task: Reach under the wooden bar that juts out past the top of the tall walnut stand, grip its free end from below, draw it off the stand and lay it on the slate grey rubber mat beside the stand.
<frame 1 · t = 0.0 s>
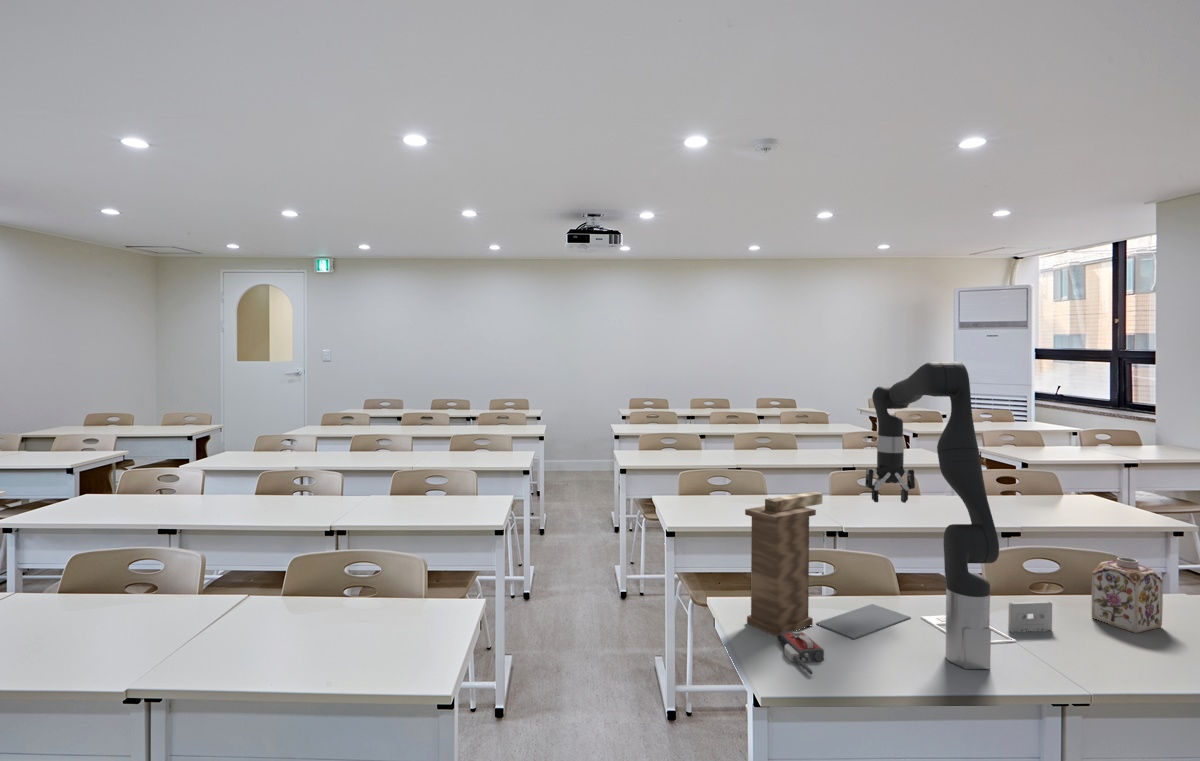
hand: (889, 502, 201), 29 cm above the table, tool pointing down, fingers open, 8 cm apart
decorative jar: (1125, 623, 180), on the table
photo frame: (966, 632, 175), on the table
cassette: (1030, 631, 175), on the table
mat: (863, 621, 181), on the table
wooden bar: (794, 506, 181), point 32 cm above the table, touching stand
stand: (779, 624, 179), on the table
walkie-talkie: (803, 659, 159), on the table
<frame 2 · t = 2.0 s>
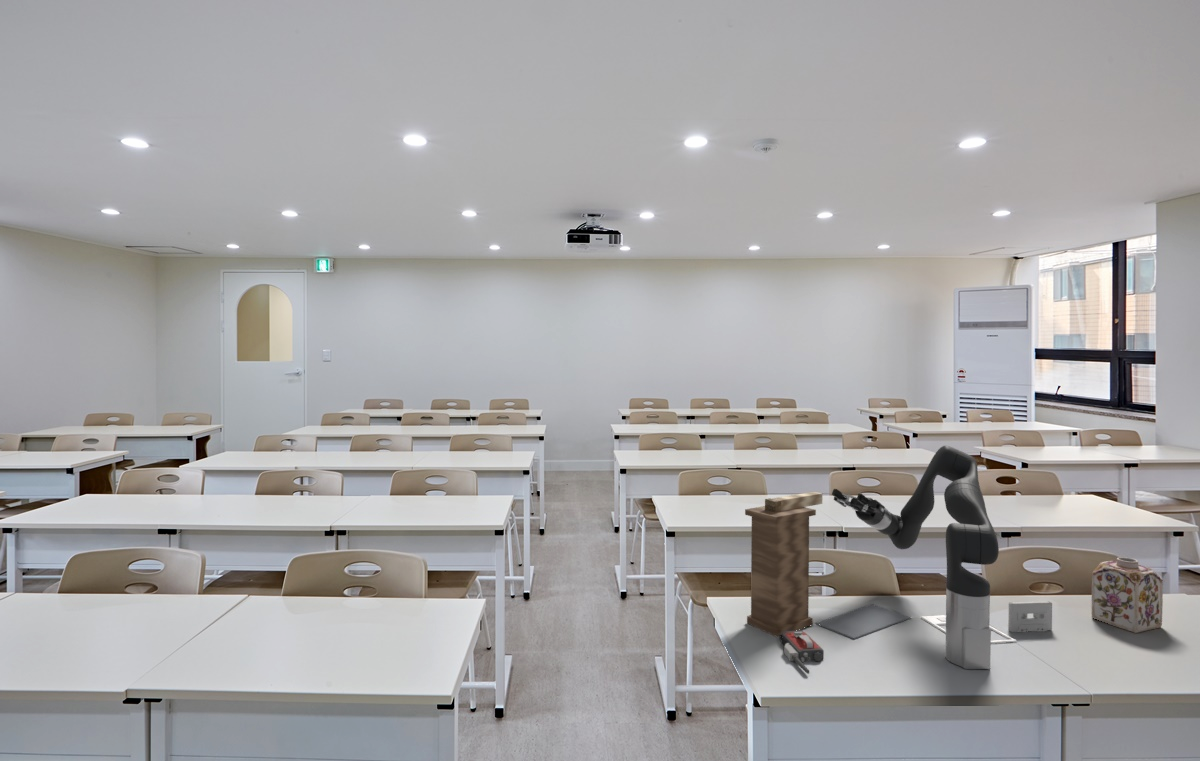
hand: (846, 493, 194), 33 cm above the table, tool pointing upward, fingers open, 8 cm apart
nothing on the table moved.
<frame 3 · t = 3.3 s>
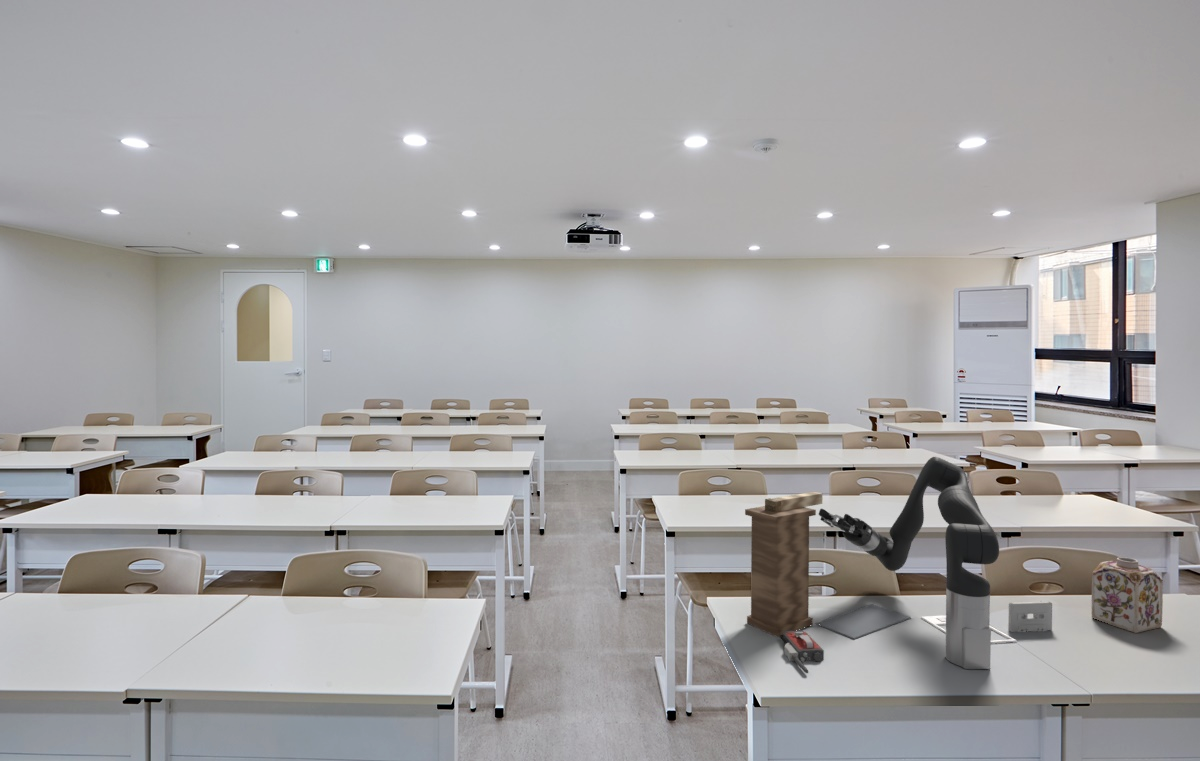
hand: (832, 514, 191), 28 cm above the table, tool pointing upward, fingers open, 8 cm apart
nothing on the table moved.
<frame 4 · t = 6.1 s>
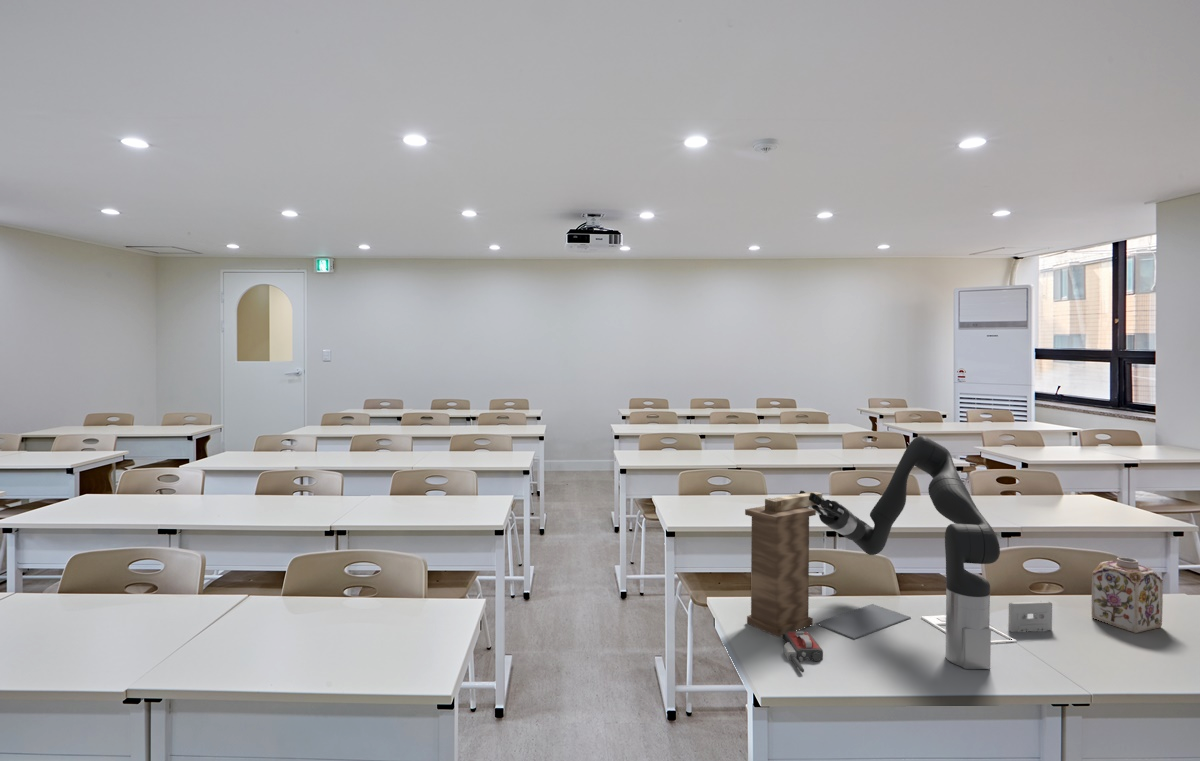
hand: (805, 494, 184), 35 cm above the table, tool pointing upward, fingers closed on wooden bar, 3 cm apart
wooden bar: (794, 506, 181), point 32 cm above the table, touching gripper, stand
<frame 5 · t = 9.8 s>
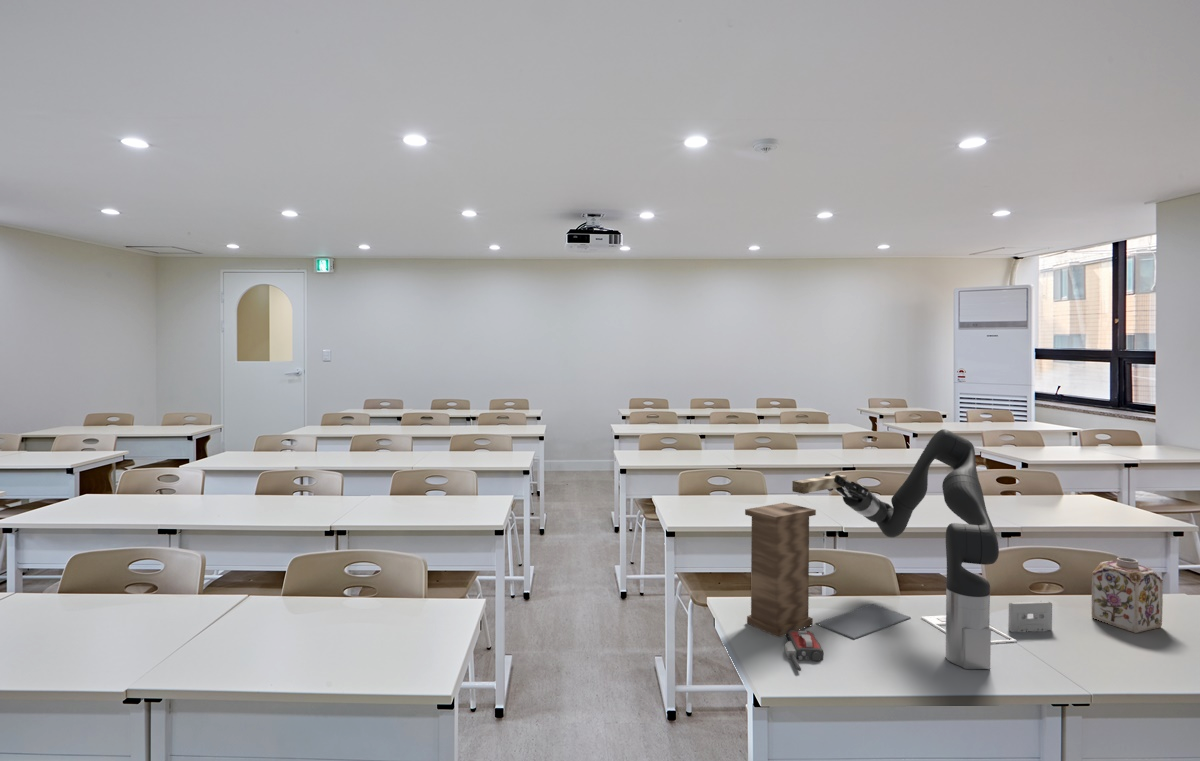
hand: (830, 477, 190), 39 cm above the table, tool pointing upward, fingers closed on wooden bar, 3 cm apart
wooden bar: (820, 488, 188), point 36 cm above the table, touching gripper
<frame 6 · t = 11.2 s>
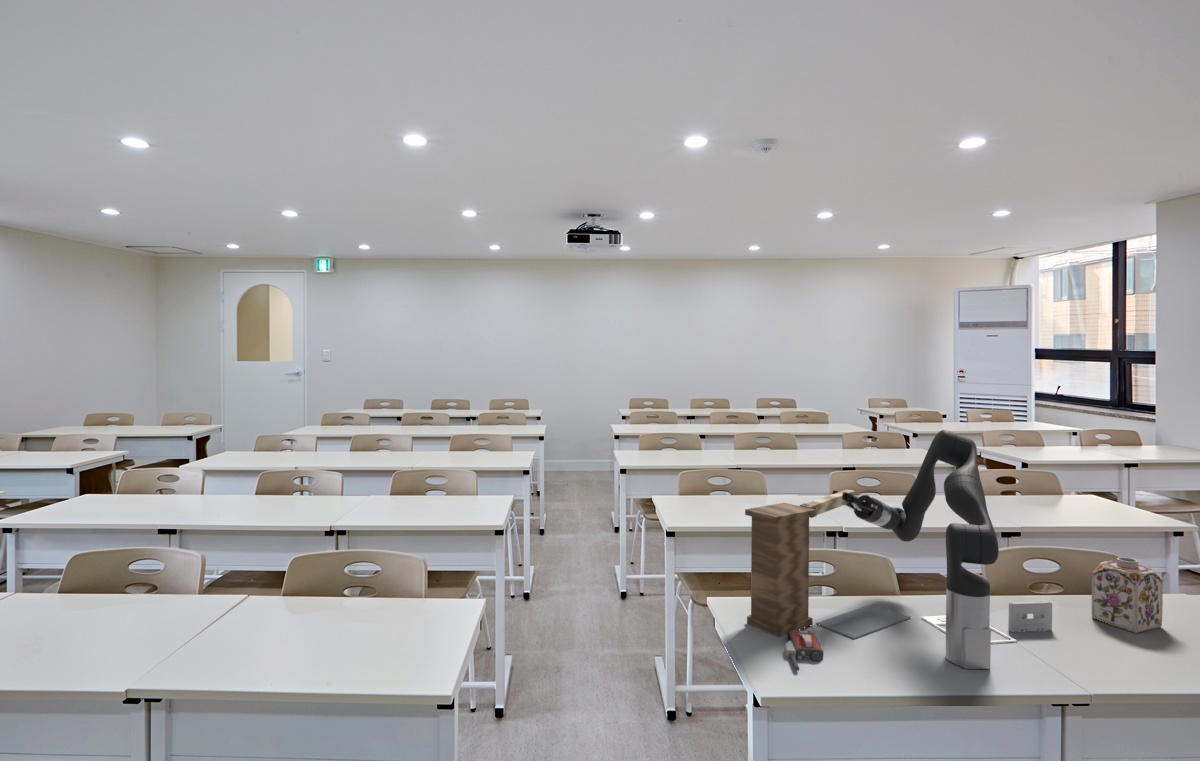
hand: (838, 494, 190), 34 cm above the table, tool pointing upward, fingers closed on wooden bar, 3 cm apart
wooden bar: (829, 508, 188), point 30 cm above the table, tilted 7°, touching gripper
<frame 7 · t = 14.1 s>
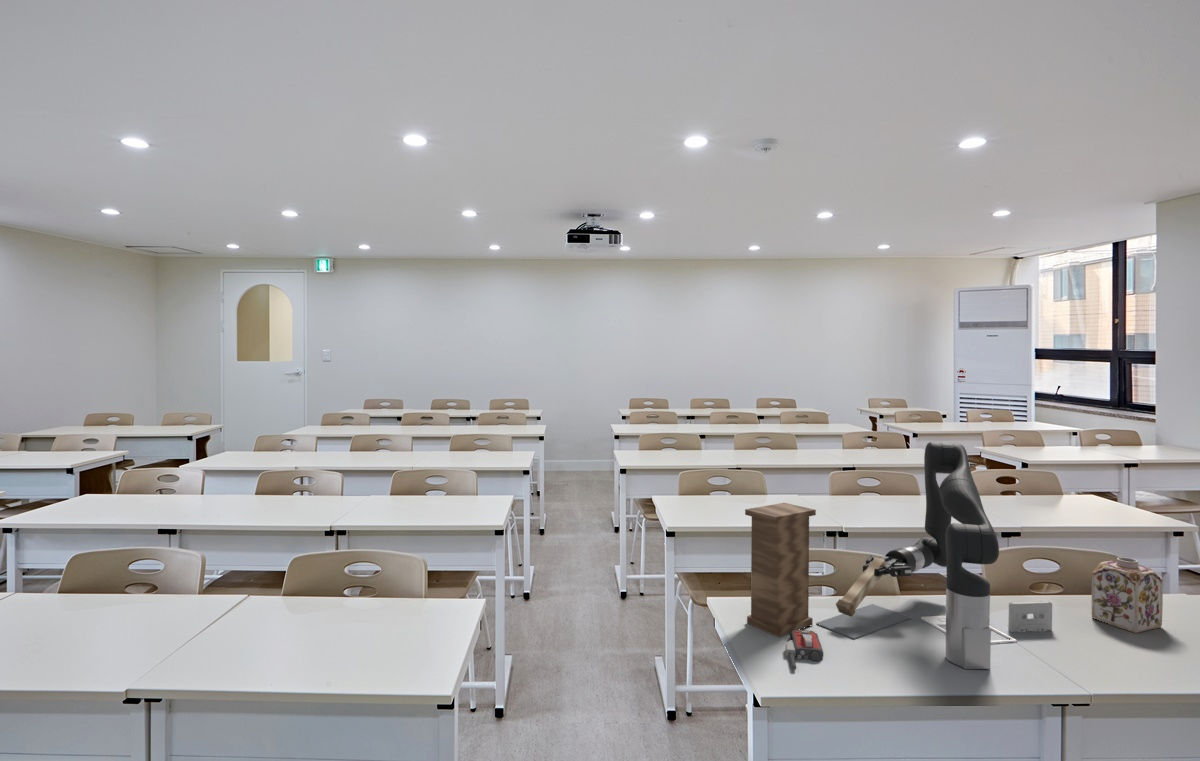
hand: (870, 571, 182), 14 cm above the table, tool horizontal, fingers closed on wooden bar, 3 cm apart
wooden bar: (864, 589, 181), point 9 cm above the table, tilted 31°, touching gripper
when the fingers open (11 cm above the table, at t = 15.1 s): wooden bar drops 5 cm, resting on mat.
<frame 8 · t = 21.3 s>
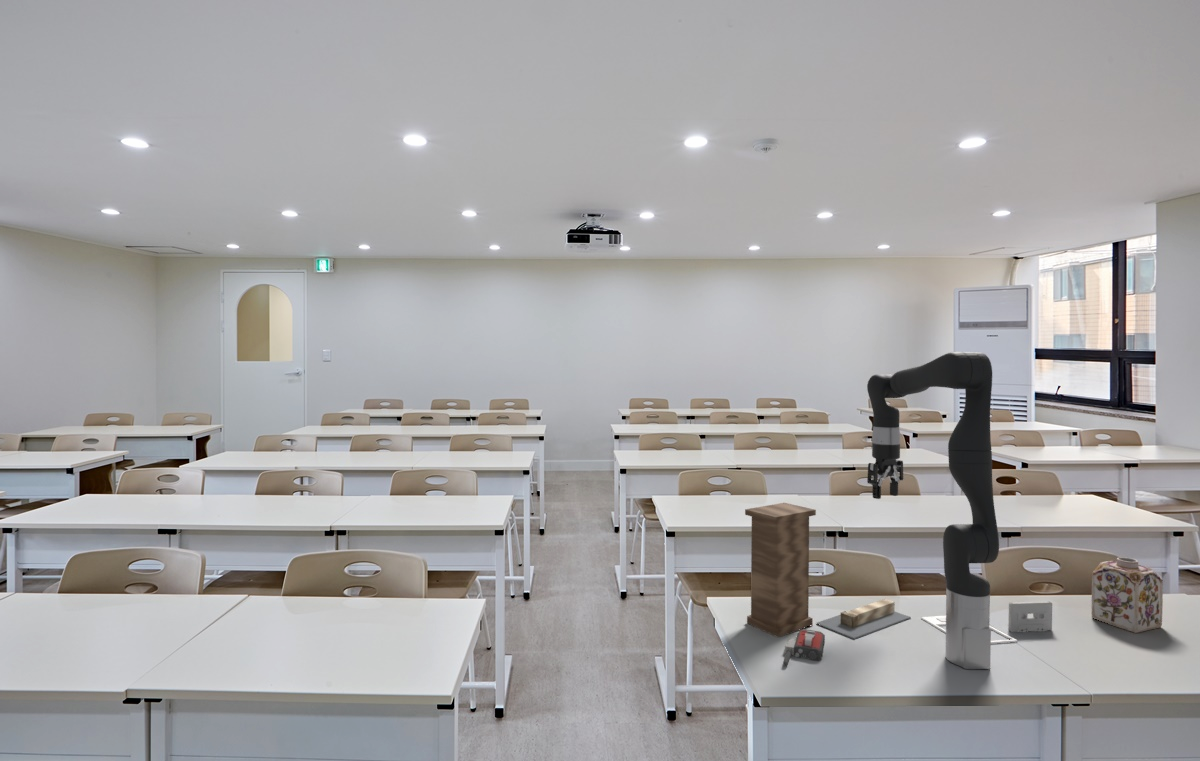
hand: (885, 496, 190), 33 cm above the table, tool pointing down, fingers open, 8 cm apart
wooden bar: (868, 618, 182), resting on mat
at the end: wooden bar inside the target area on the mat (2.4 cm from its centre), point 0.4 cm above the mat's base; wooden bar touching mat; the gripper is holding nothing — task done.
